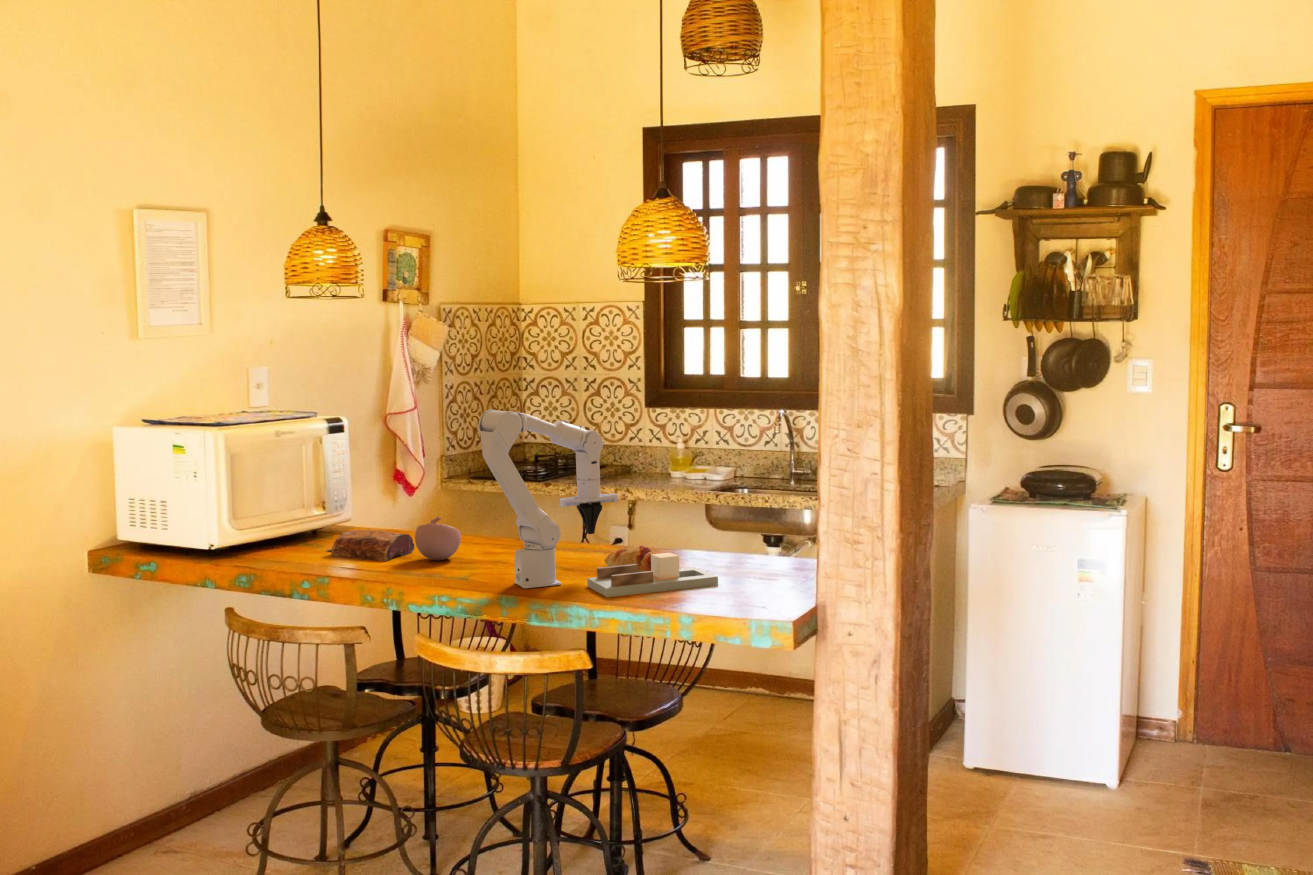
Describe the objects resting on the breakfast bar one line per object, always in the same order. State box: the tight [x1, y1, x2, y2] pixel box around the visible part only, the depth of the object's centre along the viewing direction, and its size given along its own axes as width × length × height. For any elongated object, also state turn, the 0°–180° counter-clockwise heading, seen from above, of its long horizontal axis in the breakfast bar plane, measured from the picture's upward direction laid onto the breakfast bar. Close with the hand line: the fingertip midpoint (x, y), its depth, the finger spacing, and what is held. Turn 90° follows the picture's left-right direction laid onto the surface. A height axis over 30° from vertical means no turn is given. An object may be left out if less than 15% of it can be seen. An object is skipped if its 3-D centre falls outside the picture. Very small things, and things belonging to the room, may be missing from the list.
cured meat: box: [326, 529, 416, 562], centre depth 351 cm, size 18×25×7 cm
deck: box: [586, 566, 719, 598], centre depth 302 cm, size 28×13×2 cm, turn 113°
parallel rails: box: [596, 564, 653, 587], centre depth 299 cm, size 10×11×2 cm
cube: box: [651, 552, 680, 579], centre depth 303 cm, size 5×5×5 cm
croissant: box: [604, 545, 657, 572], centre depth 320 cm, size 21×10×8 cm, turn 51°
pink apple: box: [414, 516, 462, 561], centre depth 339 cm, size 12×12×11 cm
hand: (590, 533), depth 315 cm, fingers closed
